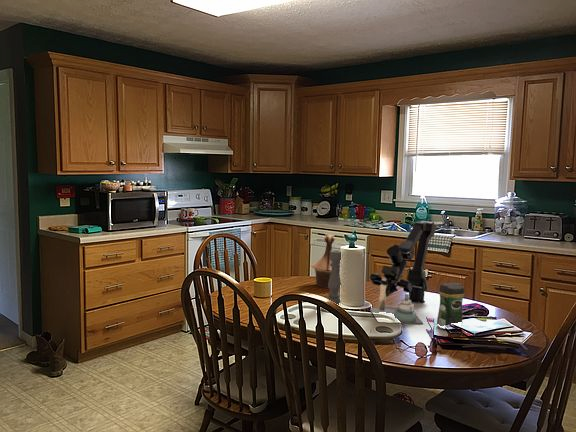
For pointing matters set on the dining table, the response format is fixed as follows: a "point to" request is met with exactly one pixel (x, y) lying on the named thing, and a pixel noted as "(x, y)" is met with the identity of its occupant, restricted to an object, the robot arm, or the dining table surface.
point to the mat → (393, 313)
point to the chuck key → (403, 306)
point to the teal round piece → (405, 316)
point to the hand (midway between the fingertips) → (382, 298)
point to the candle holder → (334, 277)
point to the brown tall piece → (324, 264)
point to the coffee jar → (450, 303)
